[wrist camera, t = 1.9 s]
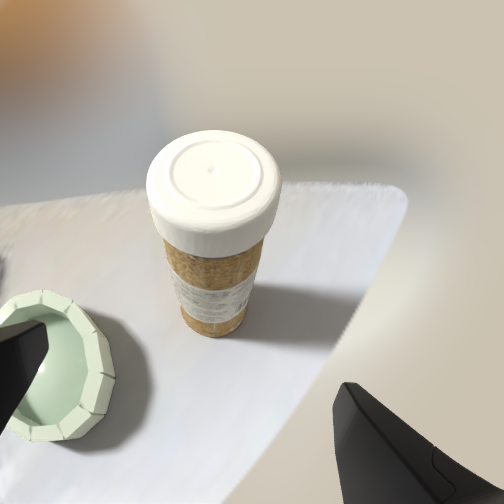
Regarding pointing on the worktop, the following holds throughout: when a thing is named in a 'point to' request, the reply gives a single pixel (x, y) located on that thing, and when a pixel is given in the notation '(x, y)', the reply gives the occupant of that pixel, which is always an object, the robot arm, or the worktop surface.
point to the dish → (62, 370)
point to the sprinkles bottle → (213, 222)
